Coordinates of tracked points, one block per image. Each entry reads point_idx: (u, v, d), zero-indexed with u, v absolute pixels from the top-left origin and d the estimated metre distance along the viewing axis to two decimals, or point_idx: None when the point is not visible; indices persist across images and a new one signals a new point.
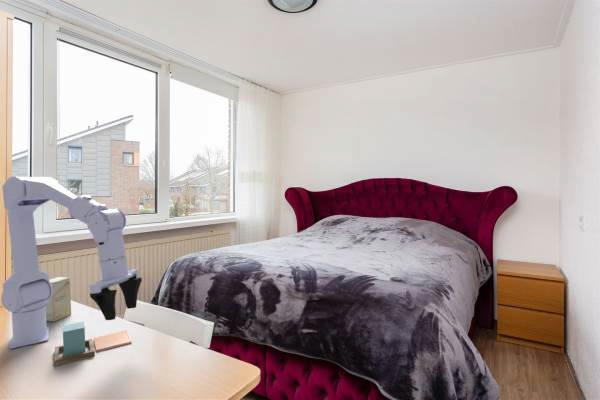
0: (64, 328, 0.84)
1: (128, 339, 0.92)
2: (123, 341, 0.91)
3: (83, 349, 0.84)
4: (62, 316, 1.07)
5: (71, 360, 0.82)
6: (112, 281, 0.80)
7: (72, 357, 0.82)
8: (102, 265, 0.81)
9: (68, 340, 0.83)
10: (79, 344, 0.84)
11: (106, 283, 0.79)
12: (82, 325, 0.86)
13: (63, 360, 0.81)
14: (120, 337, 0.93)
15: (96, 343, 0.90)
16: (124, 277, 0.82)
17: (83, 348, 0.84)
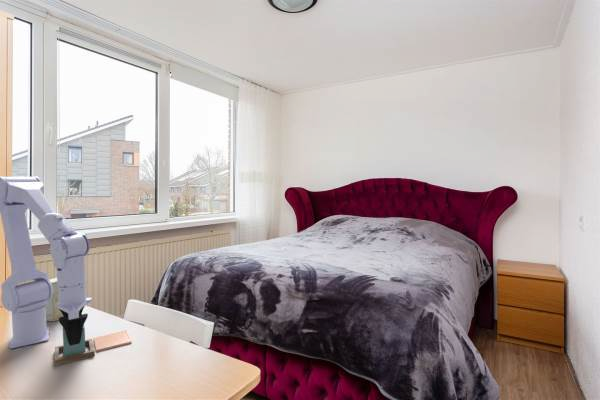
0: None
1: (128, 339, 0.92)
2: (123, 341, 0.91)
3: (83, 349, 0.84)
4: (62, 316, 1.07)
5: (71, 360, 0.82)
6: (82, 305, 0.83)
7: (72, 357, 0.82)
8: (67, 291, 0.82)
9: None
10: (79, 344, 0.84)
11: (80, 308, 0.81)
12: None
13: (63, 360, 0.81)
14: (120, 337, 0.93)
15: (96, 343, 0.90)
16: (87, 301, 0.85)
17: (83, 348, 0.84)
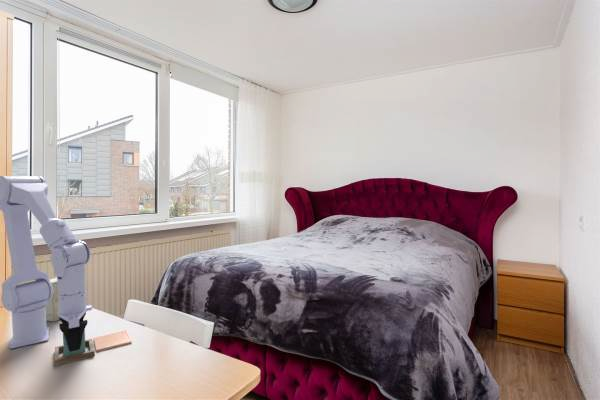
0: None
1: (128, 339, 0.92)
2: (123, 341, 0.91)
3: (83, 349, 0.84)
4: None
5: (71, 360, 0.82)
6: (83, 314, 0.83)
7: (72, 357, 0.82)
8: (68, 299, 0.82)
9: None
10: None
11: (80, 316, 0.81)
12: None
13: (63, 360, 0.81)
14: (120, 337, 0.93)
15: (96, 343, 0.90)
16: (88, 309, 0.86)
17: (83, 348, 0.84)
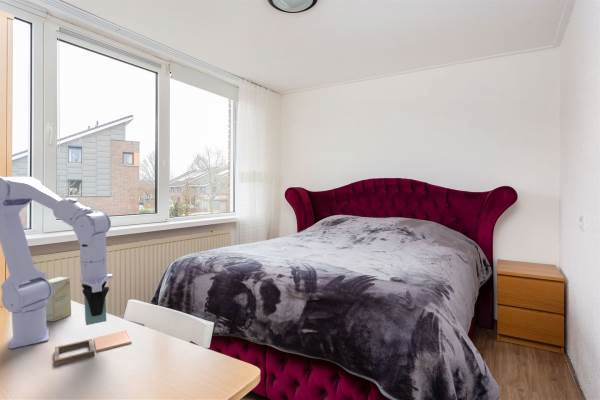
0: None
1: (128, 339, 0.92)
2: (123, 341, 0.91)
3: (104, 315, 0.88)
4: (62, 316, 1.07)
5: (71, 360, 0.82)
6: (104, 280, 0.86)
7: (72, 357, 0.82)
8: (90, 266, 0.85)
9: None
10: None
11: (102, 282, 0.85)
12: None
13: (63, 360, 0.81)
14: (120, 337, 0.93)
15: (96, 343, 0.90)
16: (109, 277, 0.89)
17: (104, 314, 0.88)
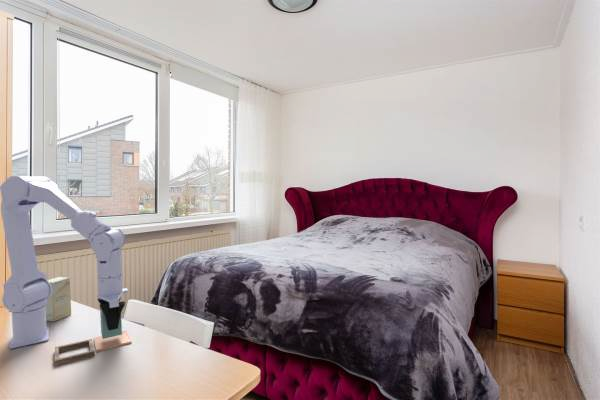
0: None
1: (128, 339, 0.92)
2: (123, 341, 0.91)
3: (120, 329, 0.91)
4: (62, 316, 1.07)
5: (71, 360, 0.82)
6: (120, 295, 0.89)
7: (72, 357, 0.82)
8: (107, 282, 0.88)
9: None
10: None
11: (119, 297, 0.88)
12: None
13: (63, 360, 0.81)
14: (120, 337, 0.93)
15: (96, 343, 0.90)
16: (124, 291, 0.92)
17: (120, 328, 0.91)
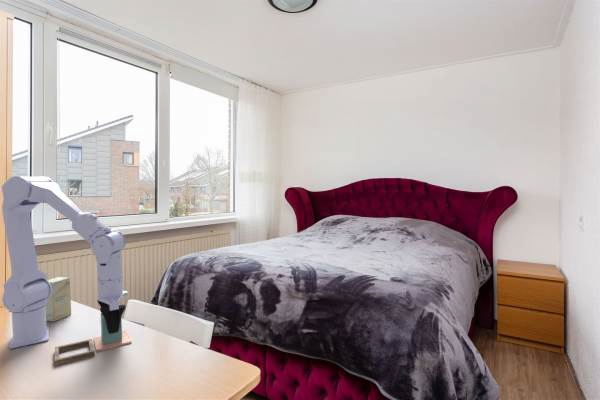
0: None
1: (128, 339, 0.92)
2: (123, 341, 0.91)
3: (120, 335, 0.91)
4: (62, 316, 1.07)
5: (71, 360, 0.82)
6: (120, 298, 0.89)
7: (72, 357, 0.82)
8: (107, 284, 0.88)
9: (106, 326, 0.89)
10: None
11: (119, 300, 0.88)
12: None
13: (63, 360, 0.81)
14: None
15: (96, 343, 0.90)
16: (124, 294, 0.92)
17: (120, 334, 0.91)
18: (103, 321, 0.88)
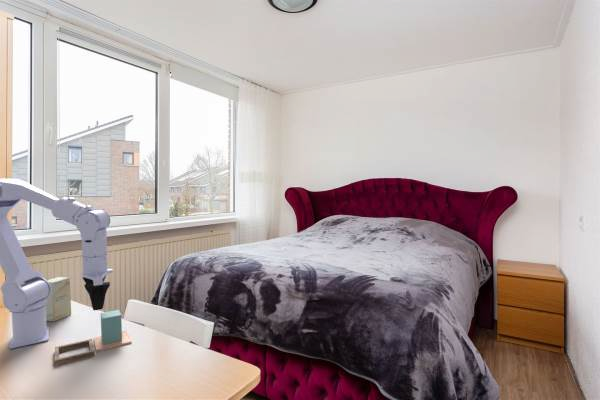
0: (102, 315, 0.90)
1: (128, 339, 0.92)
2: (123, 341, 0.91)
3: (120, 335, 0.91)
4: (62, 316, 1.07)
5: (71, 360, 0.82)
6: (105, 274, 0.90)
7: (72, 357, 0.82)
8: (92, 261, 0.89)
9: (106, 326, 0.89)
10: (116, 330, 0.90)
11: (103, 276, 0.89)
12: (118, 313, 0.92)
13: (63, 360, 0.81)
14: None
15: (96, 343, 0.90)
16: (109, 271, 0.93)
17: (120, 334, 0.91)
18: (103, 321, 0.88)
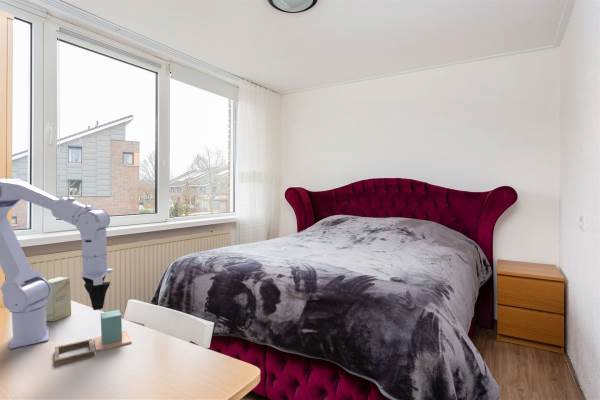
0: (102, 315, 0.90)
1: (128, 339, 0.92)
2: (123, 341, 0.91)
3: (120, 335, 0.91)
4: (62, 316, 1.07)
5: (71, 360, 0.82)
6: (105, 274, 0.90)
7: (72, 357, 0.82)
8: (92, 260, 0.89)
9: (106, 326, 0.89)
10: (116, 330, 0.90)
11: (103, 276, 0.89)
12: (118, 313, 0.92)
13: (63, 360, 0.81)
14: None
15: (96, 343, 0.90)
16: (109, 271, 0.93)
17: (120, 334, 0.91)
18: (103, 321, 0.88)
